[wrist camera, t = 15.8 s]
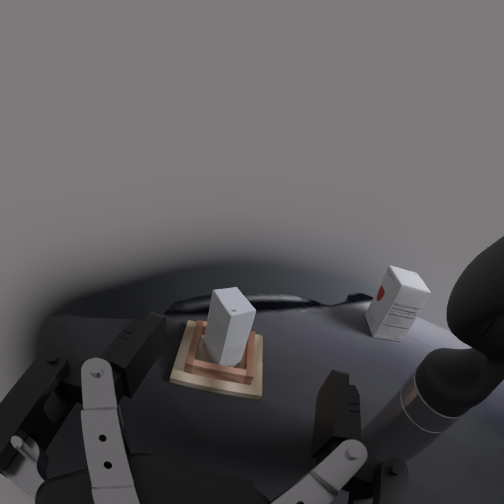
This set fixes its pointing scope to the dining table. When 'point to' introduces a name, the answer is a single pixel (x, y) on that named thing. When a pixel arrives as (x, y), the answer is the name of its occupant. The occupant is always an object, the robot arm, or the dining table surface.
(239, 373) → the serum stand
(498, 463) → the dining table surface
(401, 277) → the supplement box
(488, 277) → the robot arm
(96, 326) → the dining table surface
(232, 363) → the skincare box
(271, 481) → the dining table surface
